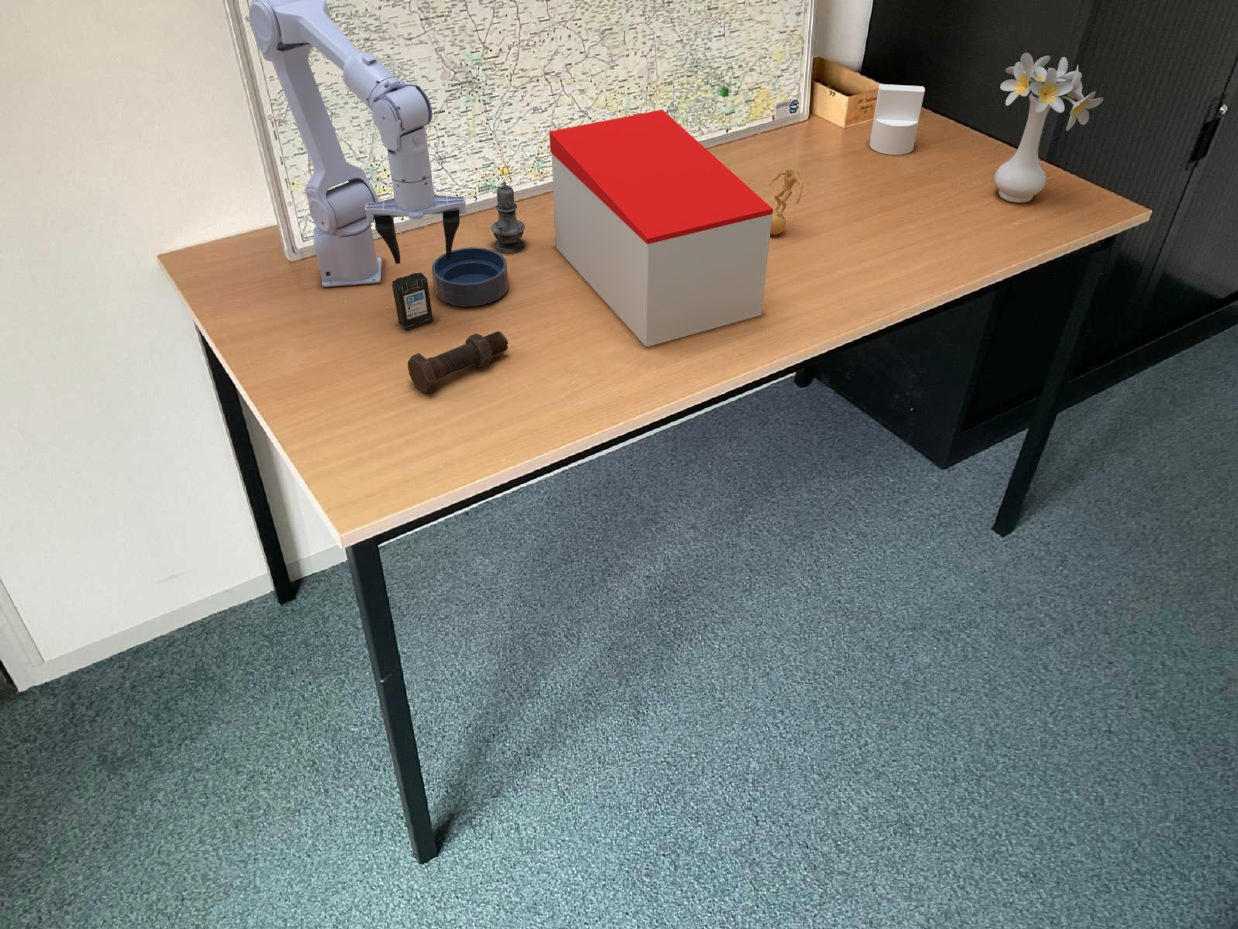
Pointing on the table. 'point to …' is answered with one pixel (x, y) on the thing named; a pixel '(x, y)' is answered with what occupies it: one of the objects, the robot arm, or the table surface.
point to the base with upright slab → (896, 118)
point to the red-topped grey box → (658, 226)
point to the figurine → (784, 198)
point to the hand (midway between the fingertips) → (423, 258)
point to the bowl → (470, 276)
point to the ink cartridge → (412, 300)
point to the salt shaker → (507, 222)
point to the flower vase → (1038, 121)
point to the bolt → (455, 360)
